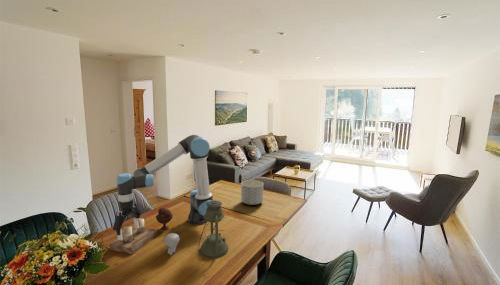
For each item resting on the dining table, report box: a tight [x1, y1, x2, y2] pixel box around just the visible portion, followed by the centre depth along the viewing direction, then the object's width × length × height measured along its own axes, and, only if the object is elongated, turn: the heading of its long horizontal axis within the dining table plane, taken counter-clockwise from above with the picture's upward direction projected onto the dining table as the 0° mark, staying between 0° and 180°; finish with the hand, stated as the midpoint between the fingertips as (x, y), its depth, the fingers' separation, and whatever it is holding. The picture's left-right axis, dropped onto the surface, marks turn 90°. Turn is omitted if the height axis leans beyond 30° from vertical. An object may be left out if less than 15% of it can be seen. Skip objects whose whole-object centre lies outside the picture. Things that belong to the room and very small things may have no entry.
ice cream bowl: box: [155, 207, 174, 232], centre depth 173 cm, size 11×11×15 cm
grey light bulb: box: [163, 232, 180, 256], centre depth 145 cm, size 8×8×12 cm
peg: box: [122, 225, 133, 244], centre depth 152 cm, size 5×5×12 cm
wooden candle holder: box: [109, 217, 158, 255], centre depth 157 cm, size 16×22×12 cm
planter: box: [240, 179, 264, 206], centre depth 219 cm, size 19×19×18 cm
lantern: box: [198, 199, 229, 259], centre depth 149 cm, size 21×18×30 cm
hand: (128, 233), depth 152 cm, fingers open, 13 cm apart
